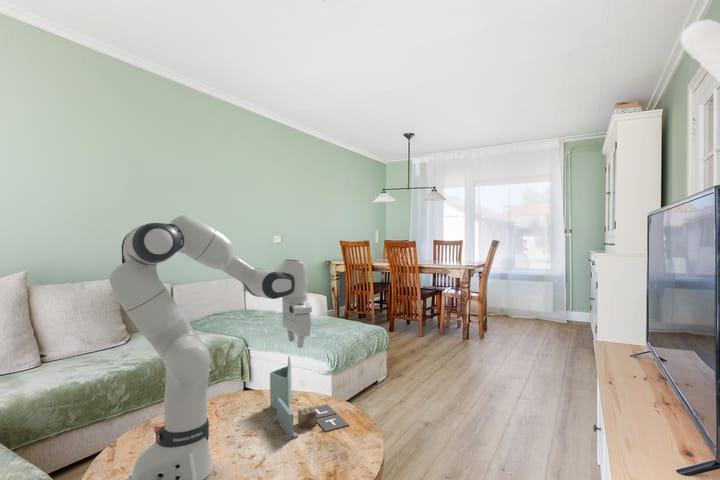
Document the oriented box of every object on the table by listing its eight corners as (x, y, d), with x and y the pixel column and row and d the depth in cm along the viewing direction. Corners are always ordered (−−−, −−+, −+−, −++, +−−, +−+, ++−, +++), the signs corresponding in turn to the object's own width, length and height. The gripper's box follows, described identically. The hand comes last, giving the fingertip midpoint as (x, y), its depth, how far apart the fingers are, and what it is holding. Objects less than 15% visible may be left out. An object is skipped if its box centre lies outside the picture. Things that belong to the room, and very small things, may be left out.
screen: (286, 440, 123) (285, 416, 123) (272, 420, 137) (272, 398, 137) (297, 437, 125) (297, 413, 125) (283, 418, 139) (283, 396, 139)
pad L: (314, 419, 137) (314, 418, 137) (305, 410, 145) (305, 408, 145) (336, 414, 141) (336, 412, 141) (327, 405, 149) (327, 403, 149)
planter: (272, 398, 157) (272, 351, 157) (291, 396, 158) (291, 350, 158) (267, 415, 141) (267, 363, 141) (288, 414, 142) (288, 362, 142)
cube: (302, 429, 130) (302, 414, 130) (297, 423, 135) (297, 409, 135) (316, 425, 133) (316, 411, 133) (311, 420, 137) (311, 405, 137)
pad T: (325, 432, 128) (325, 430, 128) (315, 421, 136) (315, 419, 136) (349, 425, 132) (349, 424, 132) (338, 415, 140) (338, 414, 140)
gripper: (278, 302, 140) (278, 338, 140) (295, 310, 122) (296, 352, 122) (294, 300, 143) (294, 336, 143) (313, 308, 125) (314, 349, 125)
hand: (295, 344), depth 132 cm, fingers open, 8 cm apart
